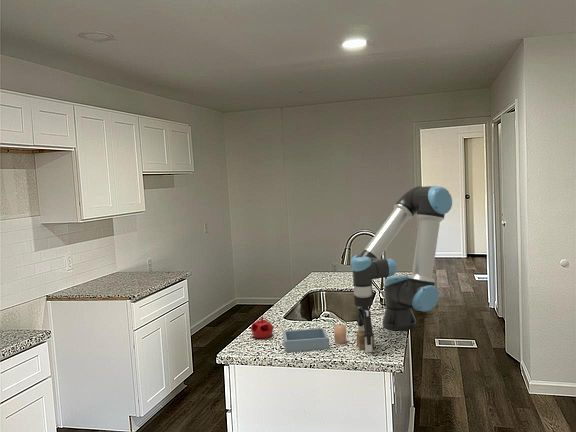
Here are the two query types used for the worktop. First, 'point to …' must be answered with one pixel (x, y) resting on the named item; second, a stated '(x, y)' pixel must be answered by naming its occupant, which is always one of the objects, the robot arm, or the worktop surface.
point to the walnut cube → (362, 340)
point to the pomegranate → (262, 328)
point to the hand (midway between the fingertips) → (365, 346)
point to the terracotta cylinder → (340, 334)
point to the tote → (305, 340)
